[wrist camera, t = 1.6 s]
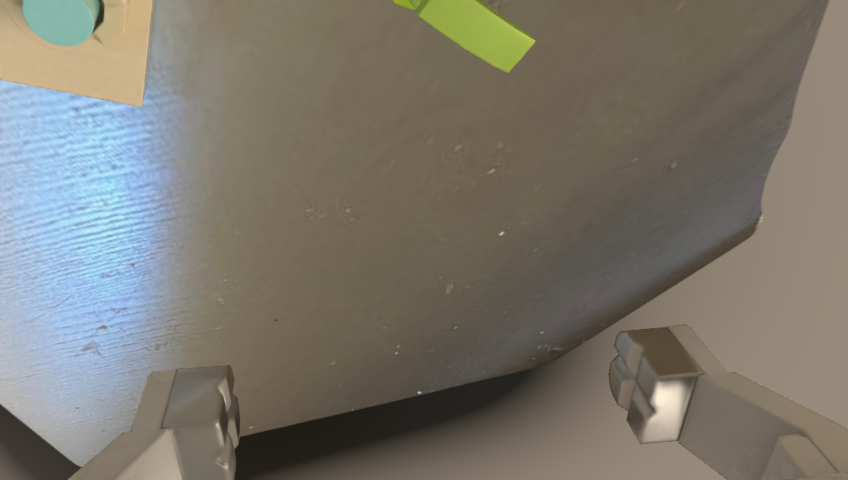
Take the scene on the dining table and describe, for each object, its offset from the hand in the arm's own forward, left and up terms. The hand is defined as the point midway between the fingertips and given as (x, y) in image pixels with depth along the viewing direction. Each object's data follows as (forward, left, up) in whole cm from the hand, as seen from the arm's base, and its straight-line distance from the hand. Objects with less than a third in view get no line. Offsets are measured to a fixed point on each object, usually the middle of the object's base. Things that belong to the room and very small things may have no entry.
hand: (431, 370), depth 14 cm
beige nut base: (+6, -17, -37) cm, 41 cm away
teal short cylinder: (+4, -16, -33) cm, 37 cm away
